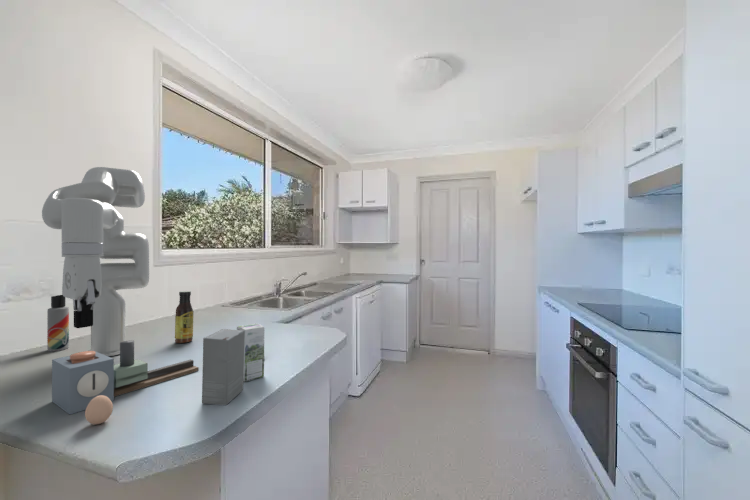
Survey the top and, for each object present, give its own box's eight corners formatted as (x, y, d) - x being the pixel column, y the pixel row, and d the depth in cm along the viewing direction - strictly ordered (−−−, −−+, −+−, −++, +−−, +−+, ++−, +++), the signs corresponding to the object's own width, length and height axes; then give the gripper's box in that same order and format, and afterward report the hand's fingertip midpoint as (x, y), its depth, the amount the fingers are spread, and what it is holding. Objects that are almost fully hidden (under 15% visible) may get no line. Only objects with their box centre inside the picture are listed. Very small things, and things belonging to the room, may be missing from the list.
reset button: (66, 375, 78) (66, 354, 78) (91, 369, 82) (91, 349, 82) (73, 379, 76) (73, 358, 76) (98, 372, 80) (98, 352, 80)
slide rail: (102, 390, 85) (102, 380, 85) (185, 366, 103) (185, 357, 103) (114, 396, 81) (114, 386, 81) (198, 370, 99) (198, 361, 99)
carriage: (106, 382, 85) (106, 343, 85) (137, 374, 91) (137, 337, 91) (116, 387, 82) (116, 346, 82) (147, 378, 88) (147, 340, 88)
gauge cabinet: (52, 401, 79) (52, 359, 79) (94, 389, 86) (94, 350, 86) (70, 415, 72) (71, 369, 72) (115, 401, 79) (115, 359, 79)
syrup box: (255, 371, 98) (255, 322, 98) (264, 377, 94) (264, 325, 94) (236, 376, 94) (235, 325, 94) (244, 382, 90) (244, 329, 90)
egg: (106, 427, 67) (106, 399, 67) (80, 430, 66) (80, 401, 66) (116, 416, 72) (116, 390, 72) (92, 419, 70) (92, 392, 70)
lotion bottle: (58, 351, 119) (58, 295, 119) (42, 351, 119) (42, 295, 119) (73, 347, 124) (73, 293, 124) (58, 347, 124) (58, 293, 125)
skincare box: (220, 390, 85) (220, 328, 85) (246, 391, 84) (246, 328, 85) (199, 405, 77) (199, 336, 77) (228, 406, 76) (228, 337, 76)
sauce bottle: (184, 344, 128) (184, 292, 128) (170, 343, 129) (170, 292, 129) (197, 339, 134) (197, 290, 134) (183, 339, 135) (183, 290, 135)
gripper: (51, 249, 80) (52, 325, 81) (73, 251, 72) (74, 335, 73) (90, 249, 87) (91, 319, 87) (115, 251, 79) (115, 328, 79)
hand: (83, 326), depth 80 cm, fingers closed
